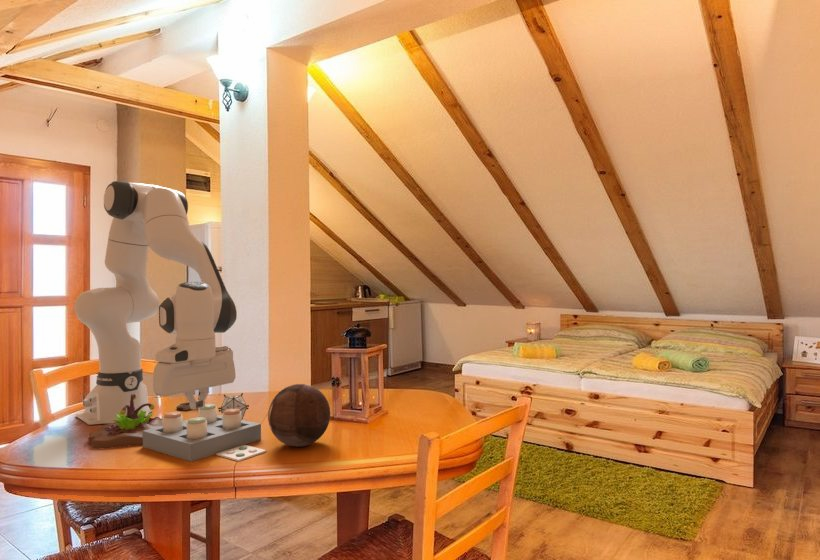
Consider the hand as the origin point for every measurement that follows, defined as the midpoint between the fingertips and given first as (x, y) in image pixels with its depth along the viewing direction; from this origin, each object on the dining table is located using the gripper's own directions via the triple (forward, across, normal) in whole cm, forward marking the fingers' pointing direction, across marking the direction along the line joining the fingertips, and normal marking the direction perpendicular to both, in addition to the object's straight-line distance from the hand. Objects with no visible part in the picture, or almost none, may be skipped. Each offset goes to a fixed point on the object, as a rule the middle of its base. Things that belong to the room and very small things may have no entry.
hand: (197, 408), depth 133 cm
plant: (+11, +1, -27) cm, 29 cm away
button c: (+8, 0, 0) cm, 8 cm away
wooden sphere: (+11, -17, +17) cm, 26 cm away
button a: (+8, 0, -10) cm, 13 cm away
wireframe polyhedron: (+11, -22, -15) cm, 29 cm away
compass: (+11, -25, -41) cm, 49 cm away
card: (+11, -5, +10) cm, 15 cm away
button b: (+8, -10, -10) cm, 16 cm away
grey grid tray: (+10, -5, -5) cm, 13 cm away
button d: (+8, -10, 0) cm, 13 cm away
